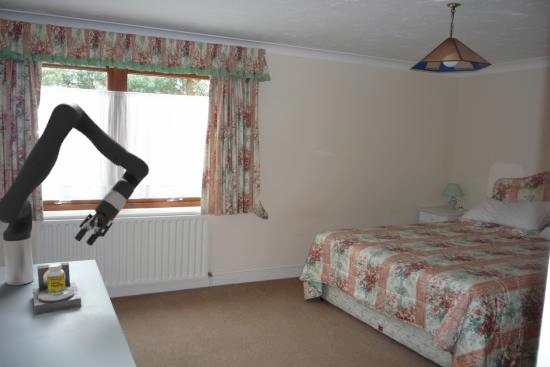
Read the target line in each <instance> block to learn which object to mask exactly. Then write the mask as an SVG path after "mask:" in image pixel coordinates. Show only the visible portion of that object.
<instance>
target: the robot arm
mask: <svg viewBox="0 0 550 367" xmlns="http://www.w3.org/2000/svg"><path fill="white" fill-rule="evenodd" d="M73 129H74V130H76V131H78V132H79V133H81V134H82V135H84V137H86V138H87V139H88V140H89V141H90V143H91V144H92V146H94V147H95V148H96V150H97V151H98V152H99V153H100V154H101V155H102V156H104V157H105V159H107V160H109V161H110V162H111V163H112V164H114V165H115V166H118V167H121V168H123V169H124V170H125V172H124V173H123V174H122V176H121V177H120V179H119V180H118V181H117V182H116V183H114V185H113V186H112V188H111V189H110V190H109V191H108V193H106V194H105V195H104V196H103V198H102V199H101V200H100V201H99V203H98V204H97V206H96V207H95V208H94V211H95V214H94V215H92V214H91V213H89V214H88V215H86V217H85V218H84V220H82V222H81V223H80V224H79V225H78V227H79V229H80V230H79V231H78V232H77V233H76V235H75V236H74V239H75V241H78V242H81V240H82V239H83V238H84V237H85V236H86V234H88V232H90V231H93V233H92V234H91V235H90V236H89V238H88V239H87V240H86V241H85V242H86V244H87V245H88V246H90V247H92V246H93V244H94V243H96V240H97V239H98V238H102V237H105V236H106V234H107V232H108V231H109V230H110V228H111V227H112V225H113V222H114V220H115V219H116V217H117V216H118V215H119V213H120V212H121V211H122V209H123V207H125V205H126V203H127V201H128V200H129V199H130V197H131V196H132V195H133V194H134V192H135V189H136V188H137V187H138V185H139V184H141V182H142V181H143V180H144V179H145V178H146V177H147V176H148V174H149V171H150V167H149V165H148V164H147V163H146V161H144V160H143V159H142V158H140V157H139V156H138V155H135V154H133V153H132V152H130V151H129V150H127V148H125V147H124V146H122V144H120V143H119V142H118V141H116V139H115V138H114V139H113V138H112V137H111V136H110V135H109V134H108V133H107V132H105V131H104V130H103V129H102V128H101V127H100V126H99V125H98V124H97V123H96V122H95V121H94V120H93V119H92V118H91V117H90V116H89V114H87V113H86V111H85V110H84V109H83V108H82V106H80V105H79V104H77V103H75V102H73V101H66V102H62V103H59V104H57V105H56V106H54V108H53V110H52V112H51V114H50V116H49V119H48V121H47V123H46V125H45V128H44V131H42V134H41V135H40V136H39V138H38V139H37V141H36V142H35V144H34V146H33V147H32V148H31V150H30V152H29V153H28V156H27V157H26V158H25V160H24V162H23V163H22V167H21V168H20V169H19V172H18V174H17V175H16V176H15V179H14V181H13V182H12V184H11V185H10V187H9V189H7V191H6V193H5V194H4V195H3V197H2V198H1V199H0V222H2V223H4V224H8V226H7V227H6V228H5V229H4V231H3V233H2V240H3V250H4V253H3V254H4V265H5V266H4V267H5V277H6V284H7V286H22V285H26V284H29V283H32V282H33V281H34V280H35V277H34V263H33V250H32V236H31V234H32V229H33V208H32V204H31V201H30V200H29V199H28V198H29V197H30V195H31V194H32V193H33V192H34V191H35V190H36V189H37V188H38V187H39V186H40V185H41V184H42V183H43V182H44V181H45V180H46V179H47V178H48V177H49V175H50V174H51V172H52V170H53V168H54V167H55V165H56V162H57V161H58V158H59V155H60V150H61V147H62V145H63V143H64V141H65V139H66V138H67V137H68V135H69V133H71V131H72V130H73ZM112 221H113V222H112Z"/></svg>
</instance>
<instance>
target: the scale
mask: <svg viewBox="0 0 550 367" xmlns="http://www.w3.org/2000/svg"><path fill="white" fill-rule="evenodd" d="M51 264H52V263H51ZM51 264H45V265H37V280H38V288H37V287H35V288H32V297H33V308H34V315H42V314H46V313H53V312H58V311H63V310H70V309H76V308H82V297H81V295H80V292H79V289H78V287H77V284H76V282H71V278H70V277H71V276H70V264H69V262H68V261H67V262H66V261H65V262H59V264H61V266H62V268H61V269H62V270H63V271H64V276H65V292H63V293H61V294H57V295H51V294H49V293H48V282H47V273H48V272H49V271H50V270H49V268H48V266H49V265H51Z"/></svg>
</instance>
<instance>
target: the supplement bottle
mask: <svg viewBox="0 0 550 367" xmlns="http://www.w3.org/2000/svg"><path fill="white" fill-rule="evenodd" d="M59 263H60V262H59ZM59 263H57V262H56V263H51V265H50V264H48V265H49V266H48V268H49V270H50V271H49V272H48V273H47V282H48V293H49V294H51V295H57V294H61V293H63V292H65V276H64V271H63V270H62V269H61V268H62V266H61V264H59Z"/></svg>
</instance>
